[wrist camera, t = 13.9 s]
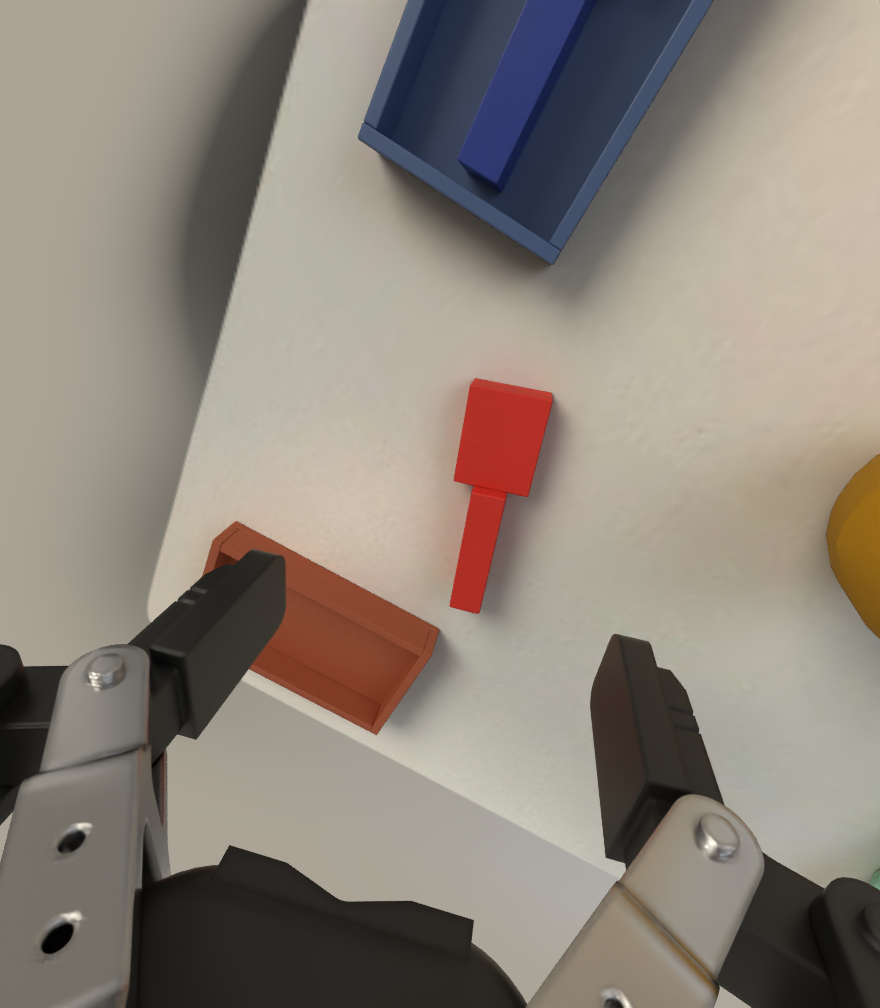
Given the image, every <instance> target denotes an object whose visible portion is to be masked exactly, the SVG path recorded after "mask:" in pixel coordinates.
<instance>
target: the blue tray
mask: <svg viewBox="0 0 880 1008" xmlns="http://www.w3.org/2000/svg"><path fill="white" fill-rule="evenodd" d="M713 1H714V0H597V1H596V3H595V5H594V7H593V9H592V11H591V13H590V15H589V17H588V19H587V21H586V23H585V25H584V27H583V29H582V32H581V34H580V36H579V38H578V40H577V42H576V44H575V46H574V48H573V50H572V52H571V54H570V56H569V58H568V60H567V62H566V64H565V66H564V68H563V70H562V72H561V74H560V76H559V78H558V80H557V82H556V84H555V86H554V88H553V90H552V92H551V94H550V96H549V98H548V100H547V102H546V104H545V106H544V108H543V110H542V112H541V114H540V116H539V118H538V120H537V122H536V124H535V126H534V128H533V130H532V133H531V135H530V137H529V139H528V141H527V143H526V145H525V147H524V149H523V151H522V153H521V155H520V157H519V159H518V161H517V163H516V165H515V167H514V169H513V171H512V173H511V175H510V177H509V179H508V181H507V183H506V185H505V187H504V189H503V191H502V192H499V191H498V190H496V189H495V188H493V187H491V186H490V185H488V184H486V183H485V182H483V181H482V180H480V179H478V178H477V177H475V176H474V175H472V174H470V173H469V172H467V171H466V170H465V169H464V168H463V166H462V165H461V164H460V163H459V162H458V160H457V157H458V154H459V152H460V150H461V148H462V145H463V143H464V141H465V138H466V136H467V134H468V132H469V129H470V127H471V125H472V123H473V120H474V118H475V116H476V113H477V111H478V109H479V107H480V104H481V102H482V100H483V98H484V95H485V93H486V91H487V88H488V86H489V84H490V82H491V79H492V77H493V75H494V73H495V70H496V68H497V66H498V63H499V61H500V59H501V57H502V54H503V52H504V50H505V48H506V45H507V43H508V41H509V38H510V36H511V34H512V32H513V29H514V27H515V25H516V23H517V20H518V18H519V16H520V13H521V11H522V9H523V7H524V4H525V2H526V0H408V2H407V4H406V7H405V10H404V13H403V15H402V18H401V21H400V24H399V26H398V29H397V32H396V34H395V37H394V40H393V43H392V45H391V48H390V51H389V53H388V56H387V59H386V62H385V64H384V67H383V70H382V72H381V75H380V78H379V81H378V83H377V86H376V89H375V92H374V94H373V97H372V100H371V102H370V105H369V108H368V111H367V113H366V116H365V119H364V122H365V123H363V124H362V127H361V130H360V132H359V135H358V139H359V140H360V141H362V142H363V143H365V144H366V145H368V146H369V147H370V148H372V149H373V150H375V151H376V152H378V153H379V154H381V155H382V156H384V157H385V158H387V159H389V160H390V161H392V162H393V163H395V164H396V165H398V166H399V167H401V168H402V169H404V170H405V171H407V172H408V173H410V174H412V175H413V176H415V177H416V178H418V179H419V180H421V181H422V182H424V183H425V184H427V185H428V186H430V187H432V188H433V189H435V190H436V191H438V192H439V193H441V194H442V195H444V196H445V197H447V198H448V199H450V200H451V201H453V202H455V203H456V204H458V205H459V206H461V207H462V208H464V209H465V210H467V211H468V212H470V213H471V214H473V215H475V216H476V217H478V218H479V219H481V220H482V221H484V222H485V223H487V224H488V225H490V226H491V227H493V228H494V229H496V230H498V231H499V232H501V233H502V234H504V235H505V236H507V237H508V238H510V239H511V240H513V241H514V242H516V243H518V244H519V245H521V246H522V247H524V248H525V249H527V250H528V251H530V252H531V253H533V254H534V255H536V256H537V257H539V258H541V259H542V260H544V261H545V262H547V263H548V264H550V265H553V264H554V262H555V261H556V259H557V257H558V256H559V254H560V252H561V251H562V249H563V248H564V246H565V244H566V243H567V241H568V239H569V238H570V236H571V234H572V233H573V231H574V230H575V228H576V226H577V225H578V223H579V221H580V220H581V218H582V216H583V215H584V213H585V211H586V210H587V208H588V207H589V205H590V203H591V202H592V200H593V198H594V197H595V195H596V193H597V192H598V190H599V188H600V187H601V185H602V183H603V182H604V180H605V179H606V177H607V175H608V174H609V172H610V170H611V169H612V167H613V165H614V164H615V162H616V160H617V159H618V157H619V156H620V154H621V152H622V151H623V149H624V147H625V146H626V144H627V142H628V141H629V139H630V137H631V136H632V134H633V132H634V131H635V129H636V128H637V126H638V124H639V123H640V121H641V119H642V118H643V116H644V114H645V113H646V111H647V109H648V108H649V106H650V105H651V103H652V101H653V100H654V98H655V96H656V95H657V93H658V91H659V90H660V88H661V86H662V85H663V83H664V82H665V80H666V78H667V77H668V75H669V73H670V72H671V70H672V68H673V67H674V65H675V63H676V62H677V60H678V58H679V57H680V55H681V54H682V52H683V50H684V49H685V47H686V45H687V44H688V42H689V40H690V39H691V37H692V35H693V34H694V32H695V31H696V29H697V27H698V26H699V24H700V22H701V21H702V19H703V17H704V16H705V14H706V12H707V11H708V9H709V8H710V6H711V4H712V3H713Z"/></svg>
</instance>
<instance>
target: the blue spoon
mask: <svg viewBox="0 0 880 1008" xmlns="http://www.w3.org/2000/svg"><path fill="white" fill-rule="evenodd" d="M596 1H597V0H526V2H525V4H524V7H523V9H522V11H521V13H520V16H519V18H518V20H517V23H516V25H515V27H514V29H513V32H512V34H511V36H510V38H509V41H508V43H507V45H506V48H505V50H504V52H503V54H502V57H501V59H500V61H499V63H498V66H497V68H496V70H495V73H494V75H493V77H492V79H491V82H490V84H489V86H488V88H487V91H486V93H485V95H484V98H483V100H482V102H481V104H480V107H479V109H478V111H477V113H476V116H475V118H474V120H473V123H472V125H471V127H470V129H469V132H468V134H467V136H466V138H465V141H464V143H463V145H462V148H461V150H460V152H459V154H458V157H457V160H458V162H459V163H460V164H461V165H462V166H463V168H464V169H465V170H466V171H467V172H469V173H470V174H472V175H474V176H475V177H477V178H478V179H480V180H482V181H483V182H485V183H486V184H488V185H490V186H491V187H493V188H495V189H496V190H498V191H499V192H502V191H503V189H504V187H505V185H506V183H507V181H508V179H509V177H510V175H511V173H512V171H513V169H514V167H515V165H516V163H517V161H518V159H519V157H520V155H521V153H522V151H523V149H524V147H525V145H526V143H527V141H528V139H529V137H530V135H531V133H532V130H533V128H534V126H535V124H536V122H537V120H538V118H539V116H540V114H541V112H542V110H543V108H544V106H545V104H546V102H547V100H548V98H549V96H550V94H551V92H552V90H553V88H554V86H555V84H556V82H557V80H558V78H559V76H560V74H561V72H562V70H563V68H564V66H565V64H566V62H567V60H568V58H569V56H570V54H571V52H572V50H573V48H574V46H575V44H576V42H577V40H578V38H579V36H580V34H581V32H582V29H583V27H584V25H585V23H586V21H587V19H588V17H589V15H590V13H591V11H592V9H593V7H594V5H595V3H596Z"/></svg>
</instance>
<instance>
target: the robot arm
mask: <svg viewBox="0 0 880 1008" xmlns="http://www.w3.org/2000/svg"><path fill="white" fill-rule="evenodd" d="M285 610H286V563H285V558H284V557H283V556H282V555H278V554H274V553H270V552H265V551H261V550H257V549H252V550H250V551H249V552H247V553H246V554H245V555H244V556H243V557H242V558H241V559H240V560H239V561H238V562H237V563H236V564H235V565H230V564H225V565H223V566H221V567H219V568H217V569H215V570H212V571H210V572H208V573H206V574H205V575H204V576H203V577H202V578H200V579H199V580H198V581H197V582H196V583H195V584H194V585H193V586H192V587H191V589H190V590H187V591H186V592H185V593H184V594H183V595H182V596H180V597H179V598H178V601H177V602H176V601H175V602H174V603H173V604H171V605H170V606H169V607H168V608H167V609H166V610H165V611H164V612H163V613H161V614H160V615H159V616H158V617H157V618H156V619H155V620H154V621H153V622H151V623H150V625H148V626H147V627H146V628H145V629H144V630H143V631H141V632H140V633H139V634H138V635H137V636H136V637H135V638H134V639H133V640H131V641H130V642H129V643H128V644H127V645H126V644H119V645H110V646H106V647H102V648H99V649H96V650H93V651H91V652H89V653H87V654H85V655H83V656H81V657H80V658H78V659H77V660H75V661H74V662H73V663H72V664H71V665H70V666H31V667H30V666H29V667H24V666H23V664H22V661H21V658H20V655H19V653H18V651H17V650H16V649H14V648H12V647H10V646H6V645H0V825H1V824H2V823H3V822H4V821H5V820H6V818H7V817H8V816H9V815H10V814H11V813H12V812H13V815H12V819H11V823H10V827H9V831H8V835H7V839H6V843H5V847H4V851H3V855H2V858H1V863H0V1008H714V1005H715V1003H716V1000H717V997H718V994H719V989H720V987H719V985H720V986H721V987H723V988H724V989H726V990H727V991H729V992H730V993H732V994H733V995H734V996H736V997H737V998H739V999H740V1000H742V1001H743V1002H745V1003H746V1004H747V1005H749V1006H750V1007H751V1008H880V890H879V889H877V888H875V887H873V886H871V885H870V884H868V883H865V882H863V881H860V880H857V879H853V878H845V877H842V878H837V879H835V880H833V881H832V882H831V883H830V884H829V885H828V886H827V887H826V888H825V889H824V888H822V887H821V886H819V885H817V884H815V883H813V882H812V881H810V880H808V879H806V878H805V877H803V876H801V875H799V874H798V873H796V872H794V871H792V870H790V869H789V868H787V867H785V866H783V865H782V864H780V863H778V862H776V861H775V860H773V859H772V858H770V857H769V856H767V855H766V854H765V853H763V852H762V851H761V848H760V846H759V844H758V842H757V839H756V838H755V836H754V835H753V833H752V832H751V830H750V829H749V828H748V826H747V825H746V824H745V823H744V822H743V821H742V820H741V819H740V818H739V817H738V816H737V815H736V814H735V813H734V812H733V811H731V810H730V809H729V808H727V807H726V806H725V805H724V802H723V799H722V796H721V793H720V790H719V787H718V784H717V781H716V778H715V775H714V772H713V769H712V766H711V763H710V760H709V757H708V754H707V751H706V748H705V745H704V743H703V740H702V737H701V734H699V728H698V725H697V722H696V719H695V716H693V710H692V707H691V704H690V701H689V698H688V695H687V692H686V690H685V689H684V687H683V686H682V685H681V683H680V682H679V681H678V680H677V678H676V677H675V676H674V674H673V673H672V672H671V670H667V669H663V668H659V667H657V664H656V661H655V657H654V654H653V650H652V647H651V644H650V643H649V642H648V641H644V640H640V639H635V638H631V637H627V636H623V635H618V634H614V635H613V636H612V637H611V639H610V641H609V644H608V646H607V649H606V651H605V654H604V656H603V659H602V662H601V664H600V667H599V669H598V672H597V674H596V677H595V680H594V682H593V686H592V691H591V699H590V710H591V720H592V730H593V739H594V749H595V758H596V768H597V778H598V787H599V797H600V807H601V816H602V826H603V836H604V845H605V855H606V858H609V859H612V860H616V861H619V862H623V863H625V865H626V872H625V873H624V875H623V876H622V877H621V879H620V880H619V881H616V882H615V884H614V885H613V886H612V888H611V889H610V890H609V891H608V893H607V894H606V896H605V897H604V898H603V900H602V901H601V903H600V904H599V906H598V907H597V908H596V910H595V911H594V912H593V914H592V915H591V917H590V918H589V919H588V921H587V922H586V924H585V925H584V926H583V928H582V929H581V931H580V932H579V933H578V935H577V936H576V937H575V939H574V940H573V942H572V943H571V944H570V946H569V947H568V949H567V950H566V951H565V953H564V954H563V956H562V957H561V958H560V960H559V961H558V963H557V964H556V965H555V967H554V968H553V970H552V971H551V972H550V974H549V975H548V977H547V978H546V979H545V981H544V982H543V984H542V985H541V986H540V988H539V989H538V991H537V992H536V993H535V995H534V996H533V998H532V999H531V1001H530V1002H529V1003H528V1005H527V1003H526V1002H525V1000H524V998H523V996H522V995H521V993H520V992H519V990H518V989H517V988H516V986H515V985H514V983H513V982H512V981H511V979H510V978H509V977H508V975H507V974H506V973H505V972H504V971H503V970H502V969H501V967H499V965H498V964H497V963H496V962H495V961H494V960H493V959H492V958H491V957H489V956H488V955H487V954H486V953H485V952H484V951H483V950H481V949H480V948H478V947H477V946H476V945H474V944H473V943H471V941H472V932H473V922H474V921H473V920H472V919H468V918H465V917H462V916H459V915H455V914H452V913H449V912H445V911H442V910H439V909H436V908H432V907H429V906H426V905H423V904H419V903H416V902H413V901H370V902H369V901H366V902H365V901H364V902H346V901H342V900H339V899H337V898H335V897H334V896H333V895H331V894H330V893H328V892H327V891H326V890H324V889H323V888H321V887H320V886H319V885H317V884H316V883H314V882H313V881H311V880H310V879H309V878H307V877H306V876H305V875H303V874H302V873H300V872H299V871H298V870H296V869H295V868H293V867H292V866H291V865H289V864H288V863H285V862H283V861H279V860H276V859H273V858H270V857H266V856H263V855H260V854H256V853H253V852H250V851H247V850H243V849H240V848H237V847H234V846H230V845H229V847H228V849H227V851H226V852H225V854H224V856H223V858H222V860H221V861H220V863H219V865H212V866H205V867H199V868H193V869H190V870H186V871H182V872H179V873H176V874H174V875H171V874H170V862H169V854H168V836H167V750H166V748H167V746H168V745H169V744H170V743H171V741H172V740H173V739H174V737H175V736H176V735H177V734H178V735H182V736H185V737H189V738H192V739H197V738H198V737H199V735H200V734H201V732H202V731H203V730H204V729H205V727H206V726H207V725H208V723H209V722H210V720H211V719H212V718H213V716H214V715H215V713H216V712H217V711H218V710H219V708H220V707H221V706H222V704H223V703H224V702H225V700H226V699H227V698H228V696H229V695H230V693H231V692H232V691H233V689H234V688H235V686H236V685H237V684H238V683H239V681H240V680H241V679H242V677H243V676H244V675H245V673H246V672H247V671H248V669H249V668H250V666H251V665H252V664H253V662H254V661H255V660H256V658H257V657H258V656H259V654H260V653H261V652H262V650H263V649H264V648H265V646H266V645H267V644H268V642H269V641H270V639H271V638H272V637H273V635H274V634H275V633H276V631H277V630H278V628H279V627H280V625H281V623H282V620H283V617H284V614H285Z"/></svg>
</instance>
